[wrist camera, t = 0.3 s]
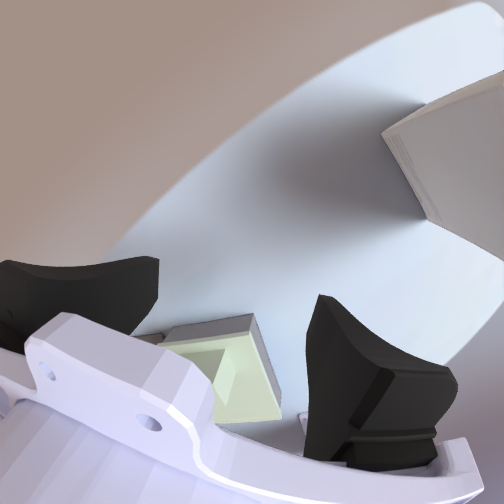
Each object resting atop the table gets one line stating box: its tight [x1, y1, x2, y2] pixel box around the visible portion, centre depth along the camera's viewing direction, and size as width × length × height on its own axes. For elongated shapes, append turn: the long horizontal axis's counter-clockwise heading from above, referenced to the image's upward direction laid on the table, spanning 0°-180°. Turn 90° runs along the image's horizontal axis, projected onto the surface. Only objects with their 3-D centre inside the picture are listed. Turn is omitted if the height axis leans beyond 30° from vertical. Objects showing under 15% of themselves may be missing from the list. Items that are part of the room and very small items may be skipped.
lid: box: [157, 331, 282, 424], centre depth 20 cm, size 10×8×5 cm
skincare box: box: [381, 70, 504, 261], centre depth 10 cm, size 8×6×15 cm
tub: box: [162, 313, 281, 408], centre depth 24 cm, size 10×8×3 cm
